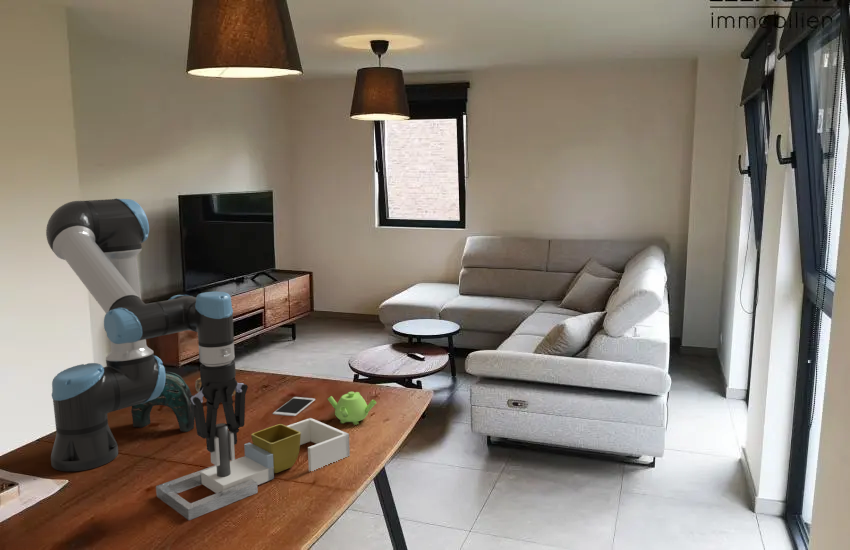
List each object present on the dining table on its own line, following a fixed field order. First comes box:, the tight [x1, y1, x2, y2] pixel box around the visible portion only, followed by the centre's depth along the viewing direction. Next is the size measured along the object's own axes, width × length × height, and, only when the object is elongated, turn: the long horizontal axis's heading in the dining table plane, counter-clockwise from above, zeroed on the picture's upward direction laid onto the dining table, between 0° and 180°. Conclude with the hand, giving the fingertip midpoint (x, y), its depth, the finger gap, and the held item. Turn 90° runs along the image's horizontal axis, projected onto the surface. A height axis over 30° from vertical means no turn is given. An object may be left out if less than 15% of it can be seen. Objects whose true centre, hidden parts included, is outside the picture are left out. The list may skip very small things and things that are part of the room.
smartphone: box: [272, 396, 316, 417], centre depth 207 cm, size 8×1×15 cm
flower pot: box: [250, 423, 301, 474], centre depth 164 cm, size 9×9×9 cm
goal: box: [286, 417, 351, 472], centre depth 172 cm, size 12×16×6 cm
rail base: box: [155, 464, 259, 521], centre depth 152 cm, size 16×15×2 cm
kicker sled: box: [201, 422, 275, 494], centre depth 156 cm, size 13×10×15 cm
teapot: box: [327, 391, 377, 426], centre depth 194 cm, size 11×12×8 cm
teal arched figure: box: [130, 371, 195, 433], centre depth 190 cm, size 20×6×20 cm, turn 76°
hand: (223, 461), depth 154 cm, fingers closed on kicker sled, 3 cm apart
